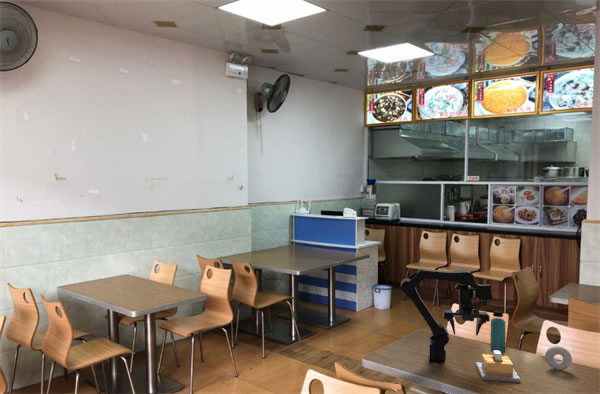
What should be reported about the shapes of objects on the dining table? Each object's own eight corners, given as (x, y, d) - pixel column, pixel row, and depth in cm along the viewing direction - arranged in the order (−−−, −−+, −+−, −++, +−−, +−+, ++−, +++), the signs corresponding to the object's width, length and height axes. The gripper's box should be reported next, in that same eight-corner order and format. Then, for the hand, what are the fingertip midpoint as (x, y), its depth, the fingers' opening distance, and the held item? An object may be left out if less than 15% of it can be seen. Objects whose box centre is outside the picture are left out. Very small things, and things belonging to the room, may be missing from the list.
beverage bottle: (507, 358, 205) (507, 313, 205) (491, 356, 207) (492, 312, 206) (503, 352, 212) (504, 309, 211) (488, 351, 213) (489, 308, 212)
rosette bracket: (482, 379, 183) (482, 364, 183) (475, 364, 198) (475, 350, 198) (520, 382, 180) (520, 367, 180) (510, 367, 195) (510, 353, 195)
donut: (571, 370, 192) (571, 346, 192) (572, 373, 189) (573, 349, 188) (544, 366, 196) (544, 343, 196) (545, 369, 193) (545, 345, 192)
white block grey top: (495, 375, 187) (495, 353, 186) (493, 371, 191) (493, 350, 190) (501, 376, 186) (501, 354, 186) (499, 372, 190) (499, 350, 190)
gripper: (445, 303, 193) (445, 339, 194) (492, 305, 190) (492, 342, 190) (442, 296, 204) (442, 331, 205) (487, 298, 201) (486, 334, 201)
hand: (465, 335), depth 200 cm, fingers open, 9 cm apart
